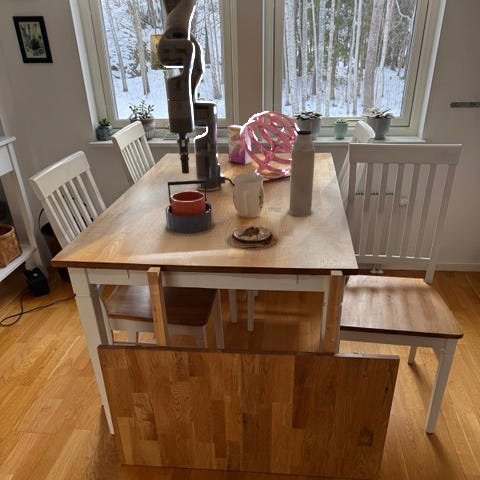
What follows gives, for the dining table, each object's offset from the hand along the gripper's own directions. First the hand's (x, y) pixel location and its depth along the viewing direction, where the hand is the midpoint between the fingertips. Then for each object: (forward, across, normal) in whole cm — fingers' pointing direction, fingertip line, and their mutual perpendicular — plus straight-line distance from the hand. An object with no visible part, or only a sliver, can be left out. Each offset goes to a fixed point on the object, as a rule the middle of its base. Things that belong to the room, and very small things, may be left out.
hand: (185, 169), depth 151 cm
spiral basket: (+19, +57, -39) cm, 71 cm away
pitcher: (+19, +7, -21) cm, 29 cm away
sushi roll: (+19, -15, -20) cm, 31 cm away
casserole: (+19, 0, 0) cm, 19 cm away
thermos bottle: (+19, +7, -40) cm, 45 cm away
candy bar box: (+19, +83, -27) cm, 90 cm away
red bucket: (+18, 0, 0) cm, 19 cm away
